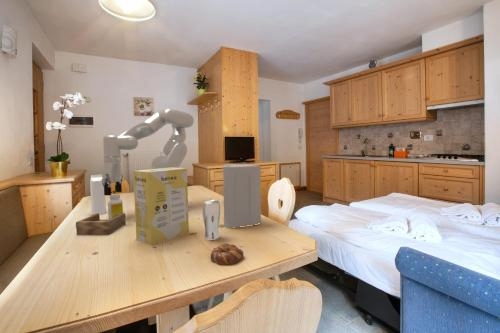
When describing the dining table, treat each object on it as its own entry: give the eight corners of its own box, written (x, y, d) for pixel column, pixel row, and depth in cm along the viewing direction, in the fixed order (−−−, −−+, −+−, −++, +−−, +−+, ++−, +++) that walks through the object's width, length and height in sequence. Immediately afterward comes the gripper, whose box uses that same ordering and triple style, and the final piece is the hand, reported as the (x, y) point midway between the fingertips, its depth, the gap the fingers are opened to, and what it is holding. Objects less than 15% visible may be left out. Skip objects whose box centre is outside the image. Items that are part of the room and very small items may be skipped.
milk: (106, 213, 144) (104, 174, 142) (94, 215, 140) (91, 175, 138) (103, 211, 149) (101, 173, 147) (91, 213, 145) (89, 174, 143)
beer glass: (223, 235, 106) (222, 200, 105) (215, 242, 100) (214, 204, 98) (208, 234, 109) (207, 199, 107) (200, 240, 102) (199, 203, 101)
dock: (125, 224, 123) (124, 213, 123) (108, 234, 109) (108, 222, 109) (96, 224, 123) (96, 213, 123) (76, 234, 109) (75, 222, 109)
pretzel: (206, 254, 89) (205, 244, 89) (235, 249, 94) (235, 239, 93) (215, 269, 78) (215, 257, 78) (248, 262, 83) (247, 251, 82)
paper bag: (211, 224, 122) (209, 166, 119) (231, 217, 134) (230, 164, 131) (243, 232, 111) (242, 168, 108) (261, 223, 123) (261, 165, 120)
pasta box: (174, 227, 118) (171, 167, 116) (188, 231, 112) (186, 168, 109) (136, 239, 103) (133, 170, 101) (151, 245, 97) (147, 172, 95)
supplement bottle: (126, 218, 133) (124, 194, 132) (114, 222, 127) (113, 196, 126) (117, 217, 136) (116, 193, 135) (105, 220, 130) (104, 195, 129)
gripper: (114, 159, 137) (115, 190, 138) (94, 160, 120) (95, 196, 121) (128, 159, 137) (129, 191, 138) (109, 160, 120) (110, 196, 121)
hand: (113, 193), depth 130 cm, fingers open, 9 cm apart
